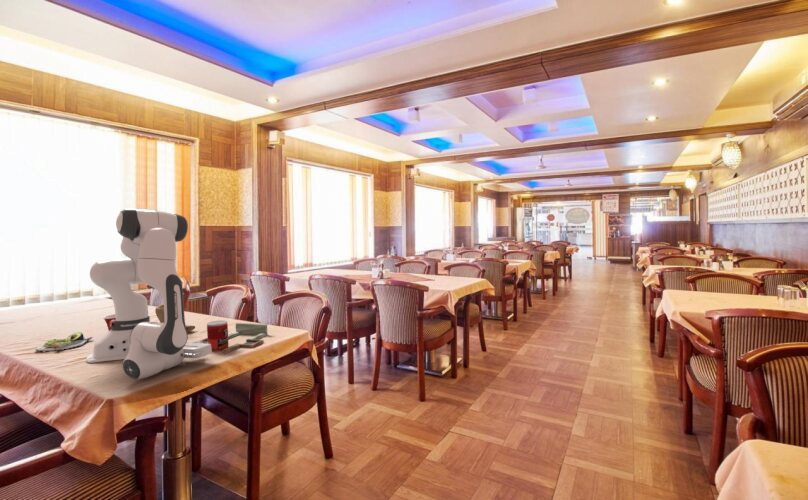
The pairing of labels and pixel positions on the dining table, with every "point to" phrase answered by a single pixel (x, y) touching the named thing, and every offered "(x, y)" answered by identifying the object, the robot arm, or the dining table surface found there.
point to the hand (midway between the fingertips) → (199, 343)
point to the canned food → (217, 335)
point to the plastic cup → (108, 319)
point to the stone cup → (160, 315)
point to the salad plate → (65, 342)
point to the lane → (246, 329)
